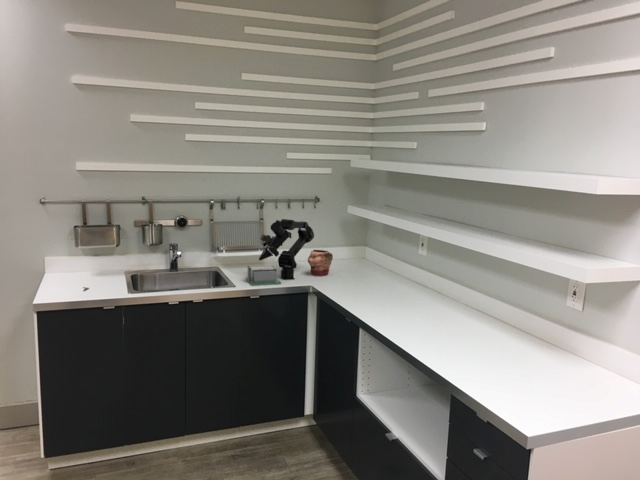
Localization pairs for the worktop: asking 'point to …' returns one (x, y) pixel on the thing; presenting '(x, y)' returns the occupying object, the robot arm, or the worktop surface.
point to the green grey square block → (262, 277)
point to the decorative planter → (320, 262)
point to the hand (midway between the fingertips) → (259, 259)
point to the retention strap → (262, 268)
